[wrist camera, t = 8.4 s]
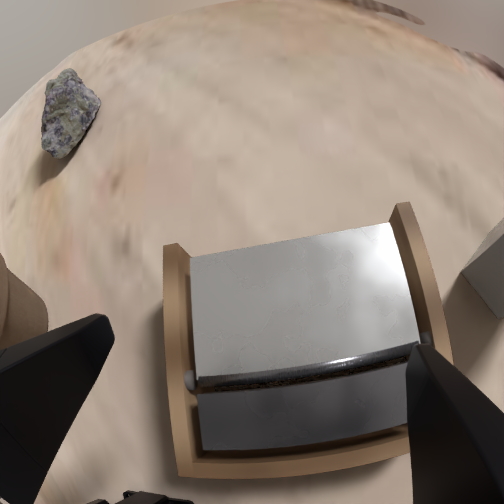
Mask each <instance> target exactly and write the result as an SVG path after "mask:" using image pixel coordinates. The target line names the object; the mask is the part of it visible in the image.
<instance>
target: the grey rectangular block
mask: <svg viewBox="0 0 504 504" xmlns="http://www.w3.org/2000/svg"><path fill="white" fill-rule="evenodd" d="M461 273H462V275H463V276H464V277H465V278H466V279H467V280H468V282H469V283H470V284H471V285H472V287H473V288H474V289H475V290H476V291H477V293H478V294H479V295H480V296H481V298H482V299H483V300H484V302H485V303H486V304H487V305H488V307H489V308H490V309H491V311H492V312H493V313H494V315H495V316H496V317H497V319H501V318H503V317H504V218H503V219H502V220H501V221H500V222H499V223H498V224H497V225H496V226H495V227H494V228H493V229H492V230H491V231H490V232H489V234H488V235H487V237H486V238H485V240H484V241H483V242H482V244H481V245H480V247H479V248H478V249H477V251H476V252H475V253H474V255H473V256H472V257H471V259H470V260H469V261H468V263H467V264H466V265H465V267H464V268H463V269H462V270H461Z"/></svg>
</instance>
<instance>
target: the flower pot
mask: <svg viewBox="0 0 504 504" xmlns="http://www.w3.org/2000/svg"><path fill="white" fill-rule="evenodd" d="M47 328H48V313H47V309H46V306H45V303H44V301H43V300H42V299H41V298H40V297H39V296H38V295H37V294H36V293H35V292H34V291H33V290H32V289H31V288H29V287H28V286H27V285H26V284H25V283H24V282H22V281H21V280H20V279H19V278H18V277H16V276H15V275H14V274H13V273H12V272H11V271H10V270H9V269H8V268H7V267H6V263H5V261H4V258H3V256H2V255H1V254H0V350H2V349H4V348H8V347H10V346H12V345H15V344H17V343H20V342H23V341H25V340H28V339H30V338H33V337H36V336H38V335H41V334H43V333H46V332H47Z"/></svg>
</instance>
